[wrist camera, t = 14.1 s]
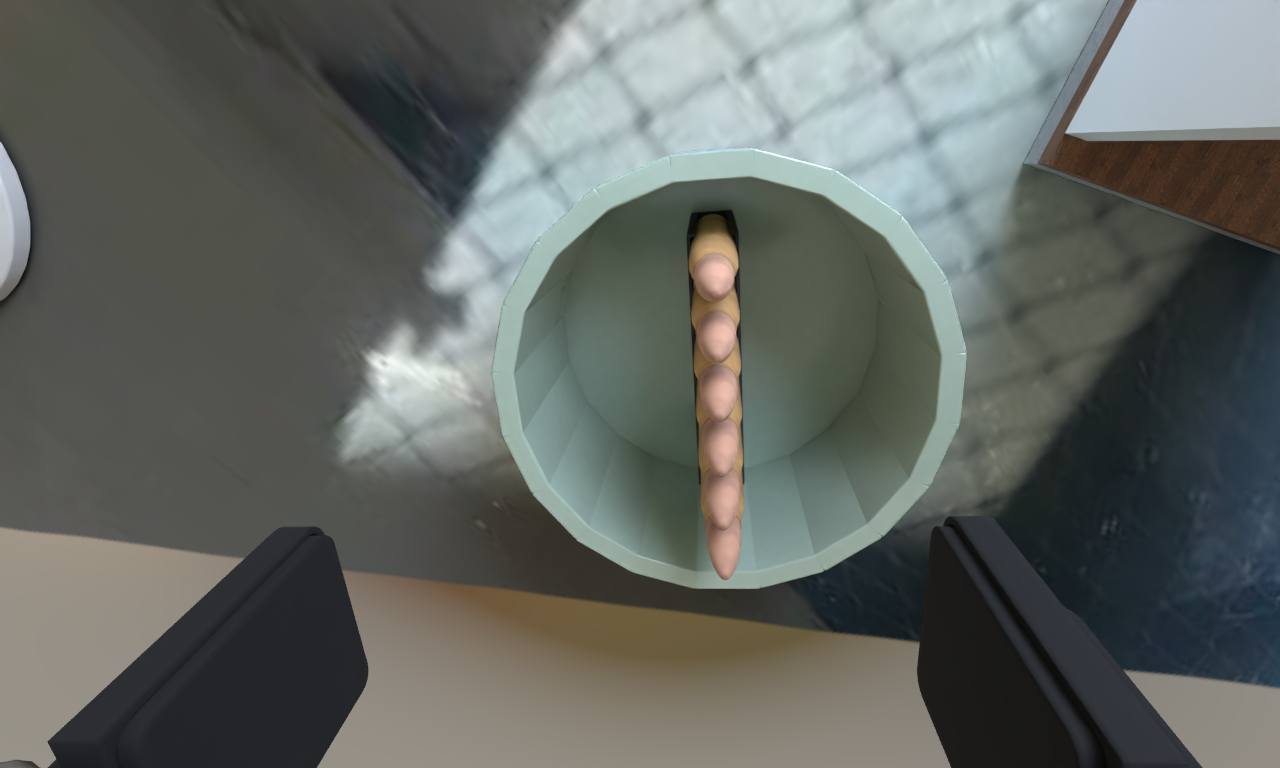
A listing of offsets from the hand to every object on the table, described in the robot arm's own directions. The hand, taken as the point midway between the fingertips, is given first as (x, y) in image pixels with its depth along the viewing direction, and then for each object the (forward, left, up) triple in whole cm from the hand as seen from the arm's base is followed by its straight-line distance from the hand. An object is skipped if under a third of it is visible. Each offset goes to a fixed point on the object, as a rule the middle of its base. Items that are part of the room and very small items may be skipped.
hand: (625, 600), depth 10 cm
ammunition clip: (+2, -2, -20) cm, 21 cm away
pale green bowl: (+2, -1, -21) cm, 21 cm away
